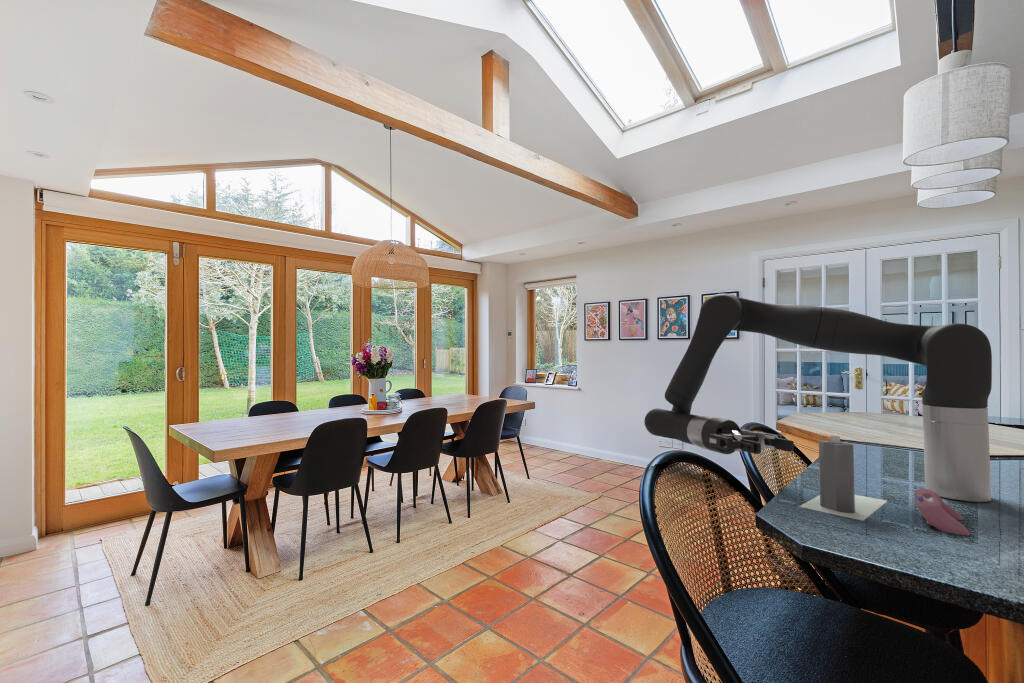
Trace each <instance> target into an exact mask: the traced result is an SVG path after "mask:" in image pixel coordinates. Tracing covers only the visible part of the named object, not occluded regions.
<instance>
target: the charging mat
mask: <svg viewBox="0 0 1024 683" xmlns="http://www.w3.org/2000/svg"><path fill="white" fill-rule="evenodd" d="M887 502H888V500H885V499H880V498H875V497H869V496H863V495H858V494H855V513H843V512H838V511H835V510H832V509H828V508H825V507H822V506H821V505H820V494H819V495H817V496H816V497H814V498H811V499H809V500H808V501H806V502H804V503H803V504H801V505H799V506H798V507H799V508H804V509H808V510H811V511H816V512H820V513H821V512H822V513H826V514H832V515H834V516H835V515H836V516H838V517H844V518H848V519H855V520H858V521H862V522H864V521H866V519H867V518H869V517H870V516H871V515H873V514H874V513H875V512H876V511H878V510H879V509H880V508H881V507H882V506H884V505H885V504H886V503H887Z"/></svg>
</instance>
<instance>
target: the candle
mask: <svg viewBox="0 0 1024 683" xmlns="http://www.w3.org/2000/svg"><path fill="white" fill-rule="evenodd" d="M854 452H855V451H854V444H853V443H849V442H842V441H841V436H840V435H834V434H831V435H830V440H825V439H821V440H818V470H819V471H818V474H819V475H818V476H819V495H820V505H821V506H822V507H825V508H828V509H832V510H835V511H838V512H843V513H855V495H856V492H855V464H854V463H855V462H854V461H855V460H854V454H855V453H854Z"/></svg>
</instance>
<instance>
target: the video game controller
mask: <svg viewBox="0 0 1024 683" xmlns="http://www.w3.org/2000/svg"><path fill="white" fill-rule="evenodd" d="M913 494H914V497H915V500H913V502H912V503H913V505H914V507H916V508H917V509H918V511H919V513H920V515H921V516H922V518H924V519H925V521H926V524H928V525H930V527H934V528H935V529H937V530H938V531H941V532H944V533H950V534H954V535H955V534H956V535H961V536H971V533H970V531H969V530H968V529H967V527H966V526H965V525H964V524H962V523H961V522H959V521H963V517H962V515H961V514H960V513H959V512H958V511H957V510H956V509H955V508H953V507H952V506H951V505H949V504H947V503H946V502H944V500H942V497H941V496H939V495H938V494H937V493H936V492H934V491H932V490H930V489H929V490H928V489H925V488H921V489H915V490H914V492H913Z"/></svg>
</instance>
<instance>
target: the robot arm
mask: <svg viewBox="0 0 1024 683" xmlns="http://www.w3.org/2000/svg"><path fill="white" fill-rule="evenodd" d="M733 331H734V332H735V331H736V332H737V331H738V332H746V333H747V332H749V333H757V334H762V335H766V336H770V337H773V338H775V339H779V340H782V341H784V342H788V343H791V344H795V345H799V346H803V347H807V348H812V349H818V350H824V351H829V352H837V353H847V354H855V355H870V356H871V355H872V356H882V357H887V358H891V359H897V360H902V361H906V362H909V363H913V364H917V365H921V366H924V367H926V382H925V387H924V388H923V390H922V392H921V403H922V406H921V408H922V428H923V429H922V430H923V431H922V432H923V433H922V434H923V435H922V436H923V458H924V459H923V462H924V467H923V468H924V489H928V490H929V489H930V490H932V491H934V492H936V493H937V494H938V495H939V496H940V497H941V498H946V499H951V500H955V501H956V500H958V501H965V502H975V503H976V502H977V503H985V502H990V501H992V488H991V487H992V486H991V485H992V484H991V483H992V482H991V477H992V476H991V457H990V456H991V455H990V454H991V453H990V432H989V428H990V426H989V408H988V407H989V406H988V403H989V402H988V400H989V397H990V395H991V392H992V386H993V384H992V382H993V381H992V380H993V379H992V378H993V374H992V373H993V362H992V361H993V357H992V356H993V354H992V346H991V343H990V340H989V338H988V336H987V335H986V334H985V332H984V331H982V330H981V329H980V328H979V327H976V326H974V325H971V324H967V323H960V322H959V323H957V322H956V323H949V324H943V325H923V324H922V325H918V324H906V323H898V322H897V323H896V322H893V321H892V322H891V321H887V320H883V319H880V318H875V317H872V316H871V315H870V316H869V315H866V314H862V313H860V312H859V313H858V312H855V311H852V310H851V311H850V310H846V309H842V308H841V309H840V308H834V307H833V308H832V307H826V306H818V305H807V304H804V305H803V304H792V303H791V304H788V303H787V304H785V303H768V302H762V301H757V300H752V299H748V298H744V297H739V296H736V295H733V294H730V293H724V292H723V293H718V294H713V295H711V296H709V297H708V298H707V299H705V301H703V303H702V304H701V306H700V309H699V315H698V318H697V321H696V326H695V329H694V332H693V335H692V338H691V340H690V343H689V345H688V347H687V348H686V349H687V350H686V351H685V353H684V355H683V357H682V359H681V360H680V363H679V364H678V366H677V367H676V369H675V372H674V374H673V376H672V378H671V379H670V382H669V384H668V386H667V388H666V389H665V392H664V400H666V401H667V402H668V403H669V404H670V405H672V409H671V410H669V409H664V408H663V409H662V408H659V407H658V408H657V407H656V408H653V409H651V410H649V411H648V412H647V413H646V415H645V417H644V419H643V420H644V421H643V422H644V426H645V429H646V430H647V432H648V433H649V434H651V435H653V436H657V437H662V438H666V439H673V440H677V441H679V442H683V443H684V444H689V445H692V446H696V447H699V448H701V449H704V450H708V451H712V452H714V453H719V454H723V455H731V454H733V453H735V452H746V453H749V454H750V453H751V454H754V455H760V454H761V453H762V451H763V450H765V449H773V450H778V451H779V450H780V451H784V452H788V453H789V452H790V453H792V452H794V451H795V442H794V441H793V440H791V439H786V438H782V435H780V434H773V433H769V432H768V433H767V432H763V431H759V430H757V431H750V430H749V429H741V427H740V426H739V425H738V423H736V422H735V421H734V420H732V419H727V418H722V417H714V416H711V415H710V416H709V415H708V416H707V415H696V414H692V413H691V411H692V406H693V403H694V401H695V399H696V397H697V395H698V393H699V391H700V390H701V387H702V386H703V384H704V381H705V378H706V376H707V374H708V371H709V368H710V366H711V364H712V362H713V360H714V358H715V356H716V354H717V352H718V350H719V348H720V347H721V345H722V344H723V342H725V340H726V339H727V337H728V336H729V335H730V333H731V332H733Z"/></svg>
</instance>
